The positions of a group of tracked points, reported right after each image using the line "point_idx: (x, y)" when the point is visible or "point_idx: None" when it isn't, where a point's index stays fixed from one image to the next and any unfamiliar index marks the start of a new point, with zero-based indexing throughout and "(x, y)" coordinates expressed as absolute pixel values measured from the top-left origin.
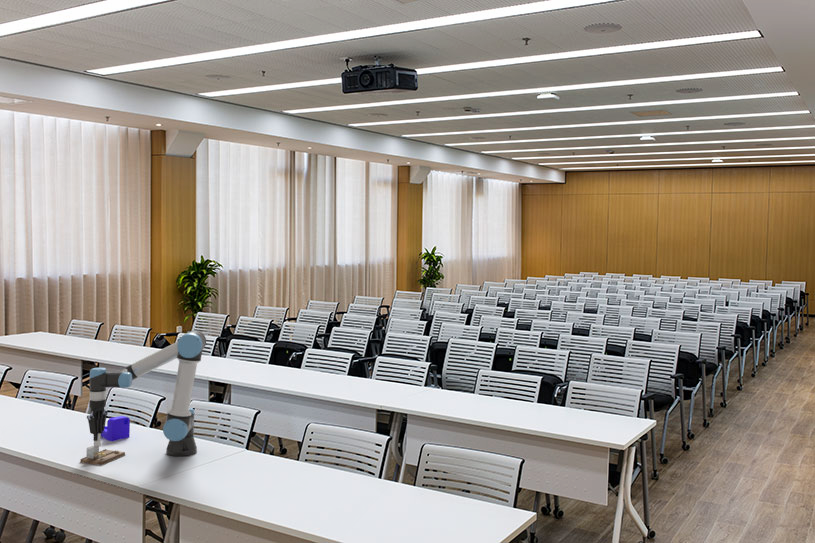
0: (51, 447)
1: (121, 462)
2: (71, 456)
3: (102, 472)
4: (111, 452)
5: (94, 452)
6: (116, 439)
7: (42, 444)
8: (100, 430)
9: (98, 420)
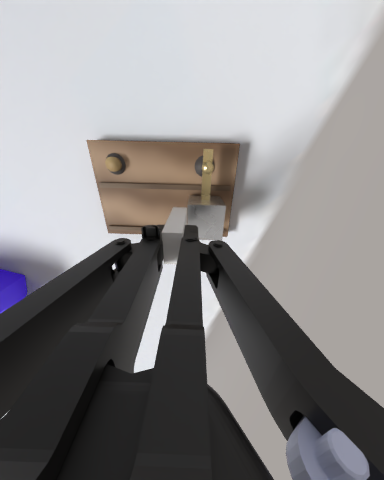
0: (146, 343)
1: (177, 81)
2: None
3: (333, 63)
4: (127, 184)
5: (217, 201)
6: (6, 272)
7: (139, 361)
8: (156, 244)
9: (170, 325)
